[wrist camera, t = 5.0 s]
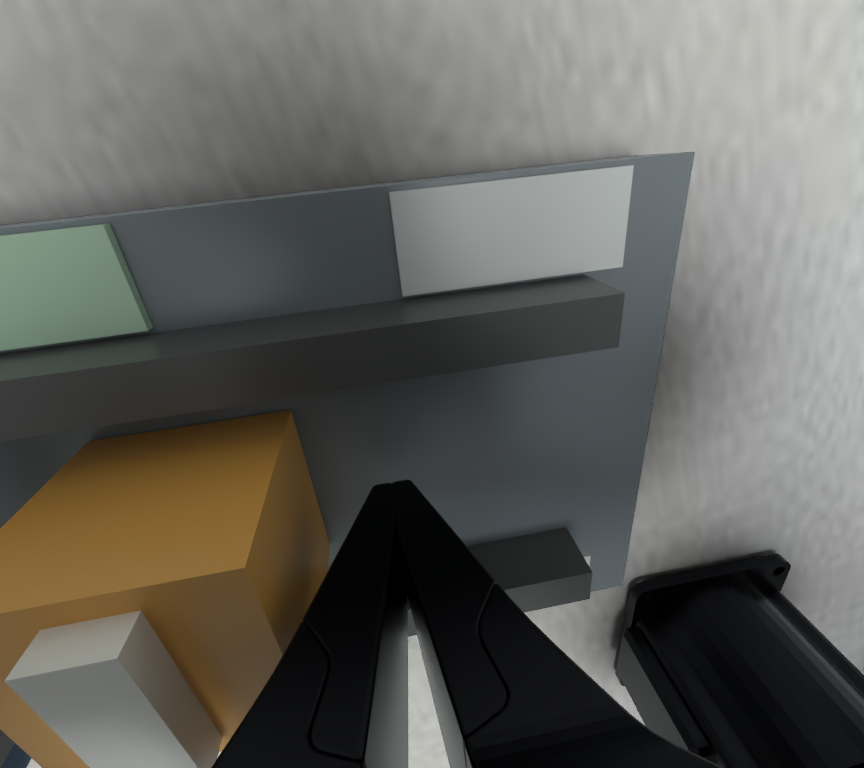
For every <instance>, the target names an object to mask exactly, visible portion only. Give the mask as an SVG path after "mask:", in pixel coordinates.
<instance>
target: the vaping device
mask: <svg viewBox="0 0 864 768" xmlns="http://www.w3.org/2000/svg"><path fill="white" fill-rule="evenodd" d="M30 760H31V757H30V756H29V755H28V754H27V753H26V752H25V751H24V750H22V749H21V748H20V747H19V746H18V745H17V744H16V743H15V744H14V746H13V747H12V749H11V751H10V752H9V754H8V756H7V757H6V759H5V761H4V762H3V764H2V765H1V767H0V768H26V767H27V765H28V764H29V762H30Z"/></svg>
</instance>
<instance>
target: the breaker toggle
mask: <svg viewBox="0 0 864 768" xmlns="http://www.w3.org/2000/svg"><path fill="white" fill-rule="evenodd" d="M329 554H330V543H329V540H328V536H327V533H326V529H325V526H324V522H323V519H322V515H321V512H320V508H319V505H318V501H317V498H316V495H315V491H314V488H313V484H312V481H311V477H310V474H309V470H308V467H307V463H306V460H305V456H304V453H303V449H302V446H301V443H300V439H299V436H298V432H297V429H296V425H295V422H294V418H293V415H292V411H291V410H286V411H280V412H273V413H267V414H260V415H254V416H247V417H241V418H235V419H228V420H222V421H215V422H209V423H202V424H196V425H190V426H183V427H177V428H170V429H164V430H157V431H151V432H145V433H138V434H132V435H125V436H119V437H112V438H106V439H99V440H93V441H88V442H87V443H86V444H85V445H84V446H83V447H82V448H81V449H80V450H79V451H78V452H77V453H76V454H75V455H74V456H73V457H72V458H71V459H70V460H69V461H68V462H67V463H66V464H65V465H64V466H63V467H62V468H61V469H60V470H59V471H58V472H57V473H56V474H55V475H54V476H53V477H52V478H51V479H50V480H49V481H48V482H47V483H46V484H45V485H44V486H43V487H42V488H41V489H40V490H39V491H38V492H37V493H36V494H35V495H34V496H33V497H32V498H31V499H30V500H29V501H28V502H27V503H26V504H25V505H24V506H23V507H22V508H21V509H20V510H19V511H18V512H17V513H16V514H15V515H14V516H13V517H12V518H11V519H9V520H8V521H7V522H6V523H5V524H4V525H3V526H2V527H1V528H0V730H2V731H3V732H4V733H5V734H6V735H7V736H8V737H9V738H10V739H11V740H13V741H14V742H15V743H16V744H17V745H18V746H19V747H20V748H21V749H22V750H24V751H25V752H26V753H27V754H28V755H29V756H30V757H31V758H32V759H33V760H35V761H36V762H37V763H38V764H39V765H40V766H41V767H42V768H211V767H212V766H213V764H214V763H215V761H216V760H217V757H218V753H219V752H220V751H223V749H224V748H225V746H226V745H227V743H228V742H229V740H230V738H231V737H232V735H233V734H234V732H235V731H236V729H237V728H238V726H239V725H240V723H241V722H242V720H243V719H244V717H245V716H246V714H247V713H248V711H249V710H250V708H251V707H252V705H253V703H254V702H255V700H256V699H257V697H258V696H259V694H260V692H261V691H262V689H263V688H264V686H265V684H266V683H267V681H268V680H269V678H270V677H271V675H272V673H273V672H274V670H275V668H276V666H277V665H278V663H279V661H280V659H281V658H282V656H283V654H284V652H285V650H286V649H287V647H288V645H289V643H290V641H291V640H292V638H293V636H294V634H295V632H296V630H297V628H298V626H299V624H300V623H301V622H303V617H304V615H305V613H306V612H307V610H308V608H309V606H310V604H311V602H312V600H313V598H314V596H315V595H316V593H317V591H318V589H319V587H320V585H321V583H322V581H323V579H324V578H325V576H326V574H327V572H328V566H329Z"/></svg>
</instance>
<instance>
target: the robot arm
mask: <svg viewBox="0 0 864 768" xmlns="http://www.w3.org/2000/svg"><path fill="white" fill-rule="evenodd" d="M790 567H791V565H790V563H789V562H788V561H786V560H785V559H784V558H783V557H782V556H781V555H779V554H772V555H767V556H762V557H757V558H753V559H748V560H743V561H738V562H733V563H728V564H724V565H719V566H714V567H709V568H704V569H699V570H695V571H690V572H685V573H680V574H675V575H670V576H666V577H661V578H656V579H651V580H646V581H642V582H639V583H638V584H636V585H635V586H634V587H633V588H632V589H631V591H630V595H629V601H628V606H627V612H626V617H625V623H624V628H623V634H622V639H621V645H620V650H619V656H618V661H617V667H616V672H615V673H616V676H617V678H618V680H619V682H620V684H621V685H622V686H625V687H626V689H627V690H628V692H629V694H630V696H631V698H632V700H633V702H634V704H635V706H636V708H637V710H638V712H639V714H640V716H641V718H642V720H643V721H644V723H645V725H646V726H645V725H643V724H642V723H641V722H640V721H638V720H637V719H636V718H635V717H633V716H632V715H631V714H630V713H629V712H627V711H626V710H625V709H624V708H623V707H622V706H621V705H620V704H619V703H617V702H616V701H615V700H614V699H613V698H612V697H611V696H610V695H609V694H608V693H607V692H606V691H605V690H603V689H602V688H601V687H600V686H599V685H598V684H597V683H596V682H595V681H594V680H593V679H592V678H591V677H590V676H588V675H587V674H586V673H585V672H584V671H583V670H582V669H581V668H580V667H579V666H578V665H577V664H576V663H575V662H573V661H572V660H571V659H570V658H569V657H568V656H567V655H566V654H565V653H564V652H563V651H562V650H561V649H560V648H558V647H557V646H556V645H555V644H554V643H553V642H552V641H551V640H550V639H549V638H548V637H547V636H546V635H545V634H544V633H543V632H542V631H541V630H540V629H539V628H538V627H537V626H536V625H535V624H534V623H533V622H532V621H531V620H530V619H529V618H528V617H527V616H526V615H525V614H524V612H523V611H522V610H521V609H520V608H519V607H518V606H517V605H516V604H515V602H514V601H513V600H512V599H511V598H510V597H509V596H508V594H507V593H506V592H505V591H504V590H503V588H502V587H501V586H500V585H499V584H496V580H495V579H494V578H493V577H492V576H491V574H490V573H489V572H488V571H487V570H486V568H485V567H484V566H483V565H482V564H481V563H480V561H479V560H478V559H477V558H476V557H475V555H474V554H473V553H472V552H471V551H470V549H469V548H468V547H467V546H466V545H465V544H464V542H463V541H462V540H461V539H460V538H459V536H458V535H457V534H456V533H455V532H454V530H453V529H452V528H451V527H450V526H449V525H448V523H447V522H446V521H445V520H444V519H443V517H442V516H441V515H440V514H439V513H438V511H437V510H436V509H435V508H434V507H433V506H432V504H431V503H430V502H429V501H428V500H427V498H426V497H425V496H424V495H423V494H422V492H421V491H420V490H419V489H418V488H417V487H416V485H415V484H414V483H413V482H412V481H411V480H409V479H407V480H401V481H395V482H393V483H390V482H389V483H383V484H377V485H374V486H373V487H372V489H371V491H370V492H369V494H368V496H367V498H366V500H365V502H364V504H363V506H362V508H361V509H360V511H359V513H358V515H357V517H356V519H355V521H354V523H353V525H352V526H351V528H350V530H349V532H348V534H347V536H346V538H345V540H344V542H343V543H342V545H341V547H340V549H339V551H338V553H337V555H336V557H335V559H334V560H333V562H332V564H331V566H330V568H329V570H328V572H327V574H326V576H325V578H324V579H323V581H322V583H321V585H320V587H319V589H318V591H317V593H316V595H315V596H314V598H313V600H312V602H311V604H310V606H309V608H308V610H307V612H306V613H305V615H304V617H303V622H301V623H300V624H299V626H298V628H297V630H296V632H295V634H294V636H293V638H292V640H291V641H290V643H289V645H288V647H287V649H286V650H285V652H284V654H283V656H282V658H281V659H280V661H279V663H278V665H277V666H276V668H275V670H274V672H273V673H272V675H271V677H270V678H269V680H268V681H267V683H266V684H265V686H264V688H263V689H262V691H261V692H260V694H259V696H258V697H257V699H256V700H255V702H254V703H253V705H252V707H251V708H250V710H249V711H248V713H247V714H246V716H245V717H244V719H243V720H242V722H241V723H240V725H239V726H238V728H237V729H236V731H235V732H234V734H233V735H232V737H231V738H230V740H229V742H228V743H227V745H226V746H225V748H224V749H223V751H222V752H221V754H220V755H219V757H218V758H217V760H216V761H215V763H214V764H213V766H212V767H211V768H408V601H409V605H410V609H411V613H412V617H413V621H414V625H415V629H416V633H417V637H418V641H419V645H420V649H421V653H422V657H423V661H424V665H425V669H426V673H427V677H428V681H429V685H430V689H431V693H432V697H433V701H434V705H435V709H436V713H437V717H438V721H439V725H440V729H441V733H442V736H443V740H444V744H445V748H446V752H447V756H448V760H449V764H450V768H864V675H863V674H862V673H861V672H860V671H859V670H858V669H857V668H856V667H855V666H854V665H853V664H852V663H851V662H850V661H849V660H848V659H847V658H846V657H845V656H844V655H843V654H842V653H841V652H840V651H839V650H838V649H837V648H836V647H835V646H834V645H833V644H832V643H831V642H830V641H829V640H828V639H827V638H826V637H825V636H824V635H823V634H822V633H821V632H820V631H819V630H818V629H817V628H816V627H815V626H814V625H813V624H812V623H811V622H810V621H809V620H808V619H807V618H806V617H805V616H804V615H803V614H802V613H801V612H800V611H799V610H798V609H797V608H796V607H795V606H794V605H793V604H792V603H791V602H790V601H789V600H788V599H787V598H786V597H785V596H784V595H783V594H782V593H781V592H780V591H781V589H782V587H783V584H784V582H785V580H786V577H787V575H788V573H789V570H790ZM407 596H408V597H407Z"/></svg>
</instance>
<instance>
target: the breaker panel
mask: <svg viewBox="0 0 864 768" xmlns="http://www.w3.org/2000/svg"><path fill="white" fill-rule="evenodd" d="M693 158H694V152H685V153H669V154H653V155H636V156H626V157H617V158H607V159H598V160H589V161H580V162H571V163H562V164H553V165H544V166H535V167H526V168H516V169H507V170H498V171H489V172H480V173H471V174H462V175H453V176H444V177H434V178H425V179H416V180H407V181H398V182H389V183H380V184H371V185H362V186H352V187H343V188H334V189H325V190H316V191H307V192H298V193H289V194H280V195H270V196H261V197H252V198H243V199H234V200H225V201H216V202H207V203H198V204H189V205H179V206H170V207H161V208H152V209H143V210H134V211H125V212H116V213H107V214H97V215H88V216H79V217H70V218H61V219H52V220H43V221H34V222H25V223H15V224H6V225H0V528H1V527H2V526H3V525H4V524H5V523H6V522H7V521H8V520H9V519H11V518H12V517H13V516H14V515H15V514H16V513H17V512H18V511H19V510H20V509H21V508H22V507H23V506H24V505H25V504H26V503H27V502H28V501H29V500H30V499H31V498H32V497H33V496H34V495H35V494H36V493H37V492H38V491H39V490H40V489H41V488H42V487H43V486H44V485H45V484H46V483H47V482H48V481H49V480H50V479H51V478H52V477H53V476H54V475H55V474H56V473H57V472H58V471H59V470H60V469H61V468H62V467H63V466H64V465H65V464H66V463H67V462H68V461H69V460H70V459H71V458H72V457H73V456H74V455H75V454H76V453H77V452H78V451H79V450H80V449H81V448H82V447H83V446H84V445H85V444H86V443H87V442H88V441H93V440H99V439H106V438H112V437H119V436H125V435H132V434H138V433H145V432H151V431H157V430H164V429H170V428H177V427H183V426H190V425H196V424H202V423H209V422H215V421H222V420H228V419H235V418H241V417H247V416H254V415H260V414H267V413H273V412H280V411H286V410H291V411H292V415H293V418H294V422H295V425H296V429H297V432H298V436H299V439H300V443H301V446H302V449H303V453H304V456H305V460H306V463H307V467H308V470H309V474H310V477H311V481H312V484H313V488H314V491H315V495H316V498H317V501H318V505H319V508H320V512H321V515H322V519H323V522H324V526H325V529H326V533H327V536H328V540H329V543H330V554H329V566H328V570H329V568H330V566H331V564H332V562H333V560H334V559H335V557H336V555H337V553H338V551H339V549H340V547H341V545H342V543H343V542H344V540H345V538H346V536H347V534H348V532H349V530H350V528H351V526H352V525H353V523H354V521H355V519H356V517H357V515H358V513H359V511H360V509H361V508H362V506H363V504H364V502H365V500H366V498H367V496H368V494H369V492H370V491H371V489H372V487H373V486H374V485H377V484H383V483H389V482H390V483H393V482H395V481H401V480H407V479H409V480H411V481H412V482H413V483H414V484H415V485H416V487H417V488H418V489H419V490H420V491H421V492H422V494H423V495H424V496H425V497H426V498H427V500H428V501H429V502H430V503H431V504H432V506H433V507H434V508H435V509H436V510H437V511H438V513H439V514H440V515H441V516H442V517H443V519H444V520H445V521H446V522H447V523H448V525H449V526H450V527H451V528H452V529H453V530H454V532H455V533H456V534H457V535H458V536H459V538H460V539H461V540H462V541H463V542H464V544H465V545H466V546H467V547H468V548H469V549H470V551H471V552H472V553H473V554H474V555H475V557H476V558H477V559H478V560H479V561H480V563H481V564H482V565H483V566H484V567H485V568H486V570H487V571H488V572H489V573H490V574H491V576H492V577H493V578H494V579H495V580H496V584H499V585H500V586H501V587H502V588H503V590H504V591H505V592H506V593H507V594H508V596H509V597H510V598H511V599H512V600H513V601H514V602H515V604H516V605H517V606H518V607H519V608H520V609H521V610H522V611H523V612H528V611H533V610H538V609H543V608H547V607H552V606H557V605H562V604H567V603H571V602H576V601H581V600H586V599H590V592H591V591H596V590H601V589H606V588H611V587H615V586H620V585H622V584H623V578H624V572H625V566H626V560H627V554H628V548H629V542H630V536H631V530H632V524H633V518H634V512H635V506H636V500H637V494H638V488H639V482H640V476H641V470H642V464H643V458H644V452H645V446H646V440H647V434H648V428H649V422H650V416H651V410H652V404H653V398H654V392H655V386H656V380H657V374H658V368H659V362H660V356H661V350H662V344H663V338H664V332H665V326H666V320H667V314H668V308H669V302H670V296H671V290H672V284H673V278H674V272H675V266H676V260H677V254H678V248H679V242H680V236H681V230H682V224H683V218H684V212H685V206H686V200H687V194H688V188H689V182H690V176H691V170H692V164H693ZM407 597H408V596H407ZM413 635H417V633H416V629H415V625H414V621H413V617H412V613H411V609H410V605H409V601H408V636H413ZM14 744H15V742H14V741H13V740H11V739H10V738H9V737H8V736H7V735H6V734H5V733H4V732H3V731H2V730H0V767H1V765H2V764H3V762H4V761H5V759H6V757H7V756H8V754H9V752H10V751H11V749H12V747H13V746H14Z"/></svg>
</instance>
